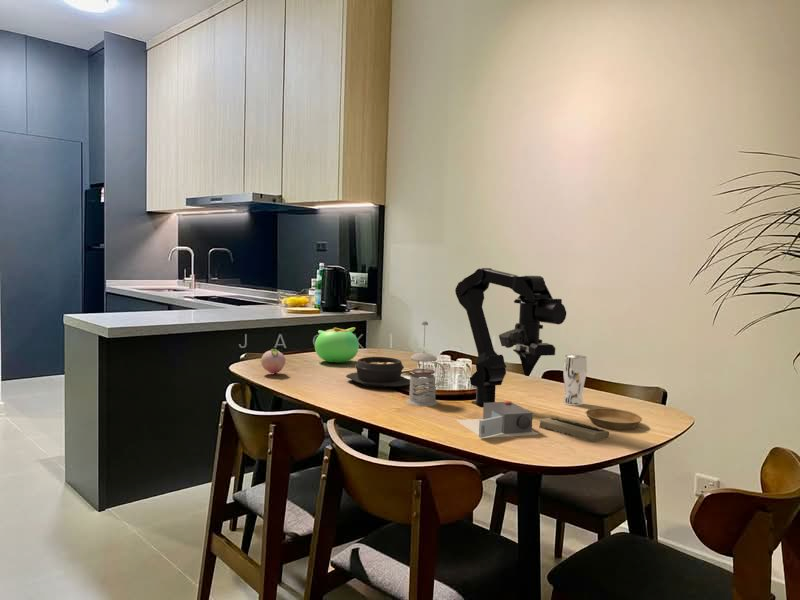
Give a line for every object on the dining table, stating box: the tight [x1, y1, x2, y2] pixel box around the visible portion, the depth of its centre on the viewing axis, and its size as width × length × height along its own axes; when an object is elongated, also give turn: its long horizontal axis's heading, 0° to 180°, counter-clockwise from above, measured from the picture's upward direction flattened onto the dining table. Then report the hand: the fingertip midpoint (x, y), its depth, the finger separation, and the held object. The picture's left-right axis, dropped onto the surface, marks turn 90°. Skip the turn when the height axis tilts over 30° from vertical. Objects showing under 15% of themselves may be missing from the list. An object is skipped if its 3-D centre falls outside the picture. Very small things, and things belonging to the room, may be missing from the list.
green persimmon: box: [314, 326, 360, 364], centre depth 243 cm, size 18×17×15 cm
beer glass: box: [562, 354, 588, 407], centre depth 185 cm, size 7×7×15 cm
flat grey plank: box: [538, 417, 610, 443], centre depth 153 cm, size 16×8×3 cm, turn 44°
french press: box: [405, 320, 446, 407], centre depth 180 cm, size 10×12×25 cm
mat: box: [456, 418, 539, 439], centre depth 156 cm, size 16×16×1 cm
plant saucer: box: [585, 407, 643, 430], centre depth 164 cm, size 15×15×3 cm
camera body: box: [482, 400, 533, 434], centre depth 156 cm, size 13×8×6 cm, turn 18°
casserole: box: [345, 356, 410, 388], centre depth 204 cm, size 25×19×8 cm
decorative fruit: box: [260, 347, 286, 374], centre depth 214 cm, size 9×8×10 cm
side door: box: [478, 416, 504, 439], centre depth 147 cm, size 8×1×4 cm, turn 129°
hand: (526, 375), depth 166 cm, fingers closed
